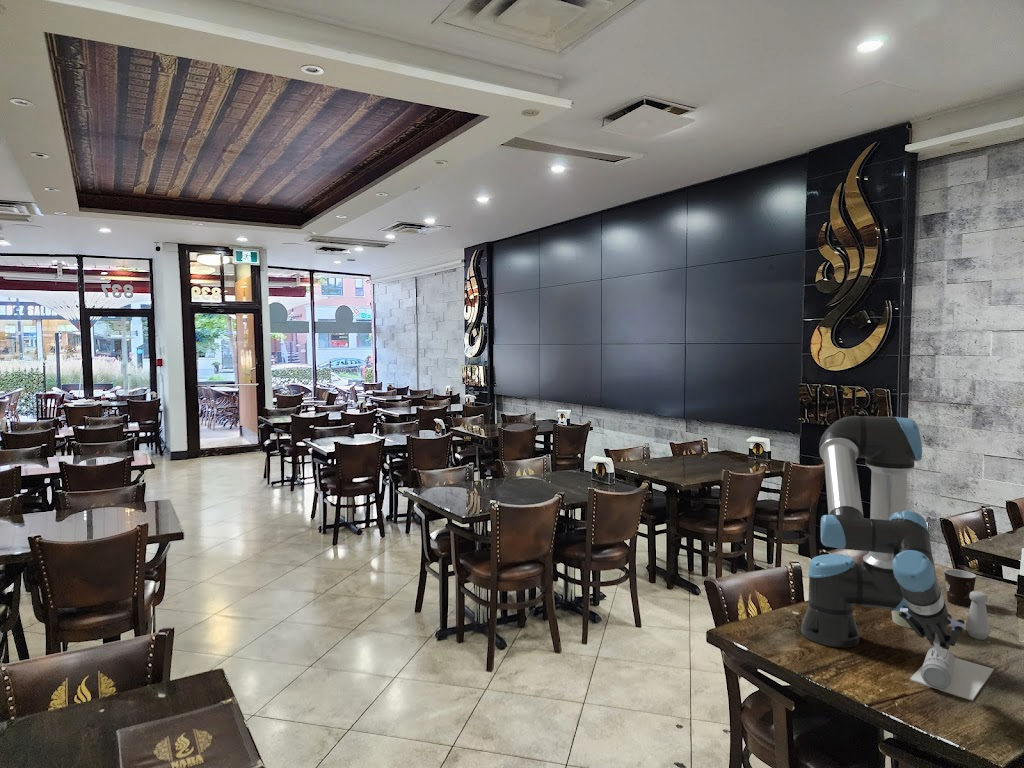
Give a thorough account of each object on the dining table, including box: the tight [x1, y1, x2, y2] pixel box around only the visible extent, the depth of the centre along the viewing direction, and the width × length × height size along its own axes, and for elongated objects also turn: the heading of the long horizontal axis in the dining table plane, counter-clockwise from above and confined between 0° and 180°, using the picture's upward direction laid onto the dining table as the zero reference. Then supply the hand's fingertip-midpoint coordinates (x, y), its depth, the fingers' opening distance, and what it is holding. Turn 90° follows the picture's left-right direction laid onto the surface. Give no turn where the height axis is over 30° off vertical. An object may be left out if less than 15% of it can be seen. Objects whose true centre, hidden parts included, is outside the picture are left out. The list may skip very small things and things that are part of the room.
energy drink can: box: [921, 646, 956, 690], centre depth 159 cm, size 6×6×15 cm
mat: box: [909, 656, 994, 701], centre depth 161 cm, size 22×13×1 cm, turn 132°
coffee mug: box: [944, 568, 977, 608], centre depth 208 cm, size 12×9×10 cm
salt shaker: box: [965, 590, 991, 641], centre depth 183 cm, size 6×6×13 cm
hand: (942, 651), depth 154 cm, fingers closed
